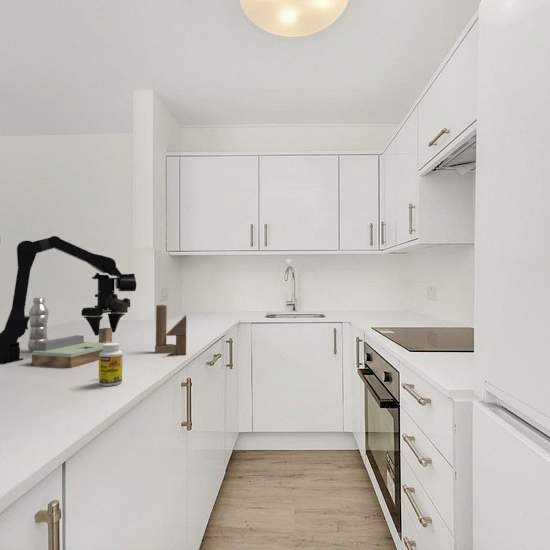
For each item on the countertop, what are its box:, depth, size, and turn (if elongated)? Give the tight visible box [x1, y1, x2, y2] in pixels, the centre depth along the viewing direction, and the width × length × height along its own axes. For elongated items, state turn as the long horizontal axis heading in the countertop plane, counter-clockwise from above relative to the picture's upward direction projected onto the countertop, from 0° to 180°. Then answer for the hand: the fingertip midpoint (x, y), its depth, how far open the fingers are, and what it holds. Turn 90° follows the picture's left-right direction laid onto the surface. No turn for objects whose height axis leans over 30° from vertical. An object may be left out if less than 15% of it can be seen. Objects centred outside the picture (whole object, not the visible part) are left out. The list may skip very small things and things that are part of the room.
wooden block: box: [154, 304, 187, 357], centre depth 139 cm, size 4×11×18 cm, turn 104°
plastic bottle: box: [27, 297, 49, 352], centre depth 145 cm, size 6×7×20 cm
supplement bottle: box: [98, 342, 124, 387], centre depth 99 cm, size 6×6×10 cm
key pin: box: [98, 327, 113, 343], centre depth 142 cm, size 3×3×9 cm
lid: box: [31, 334, 106, 357], centre depth 124 cm, size 14×20×4 cm
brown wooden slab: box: [31, 350, 103, 369], centre depth 124 cm, size 14×20×4 cm
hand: (105, 333), depth 142 cm, fingers open, 9 cm apart
